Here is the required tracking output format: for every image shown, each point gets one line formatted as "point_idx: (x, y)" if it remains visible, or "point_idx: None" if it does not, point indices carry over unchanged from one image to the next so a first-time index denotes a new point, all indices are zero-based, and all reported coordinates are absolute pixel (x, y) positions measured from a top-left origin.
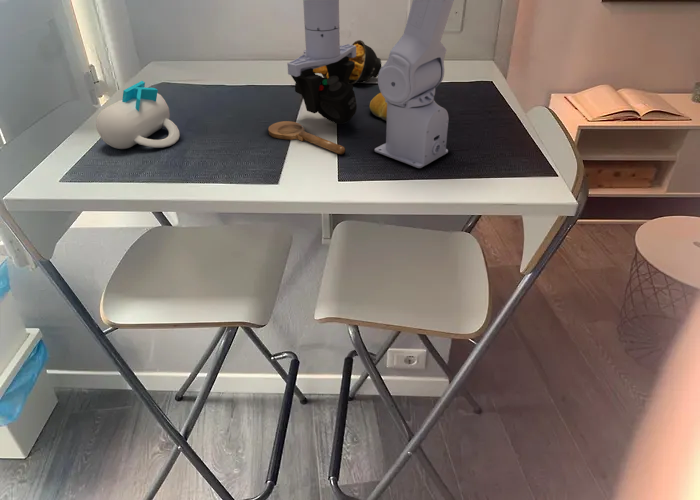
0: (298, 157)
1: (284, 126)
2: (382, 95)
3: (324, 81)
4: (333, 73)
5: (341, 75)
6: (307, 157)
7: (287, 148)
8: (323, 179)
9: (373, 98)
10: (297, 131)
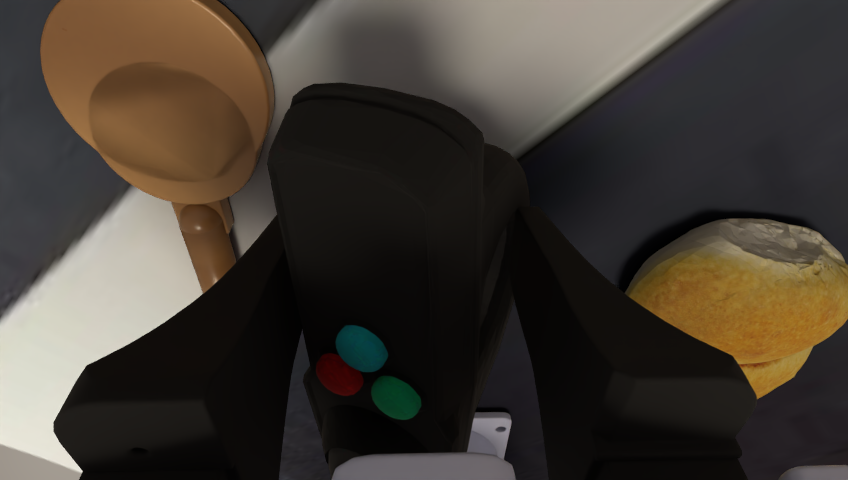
0: (98, 301)
1: (164, 75)
2: (720, 344)
3: (382, 407)
4: (566, 368)
5: (548, 426)
6: (132, 320)
7: (88, 224)
8: None
9: (718, 284)
10: (195, 180)
